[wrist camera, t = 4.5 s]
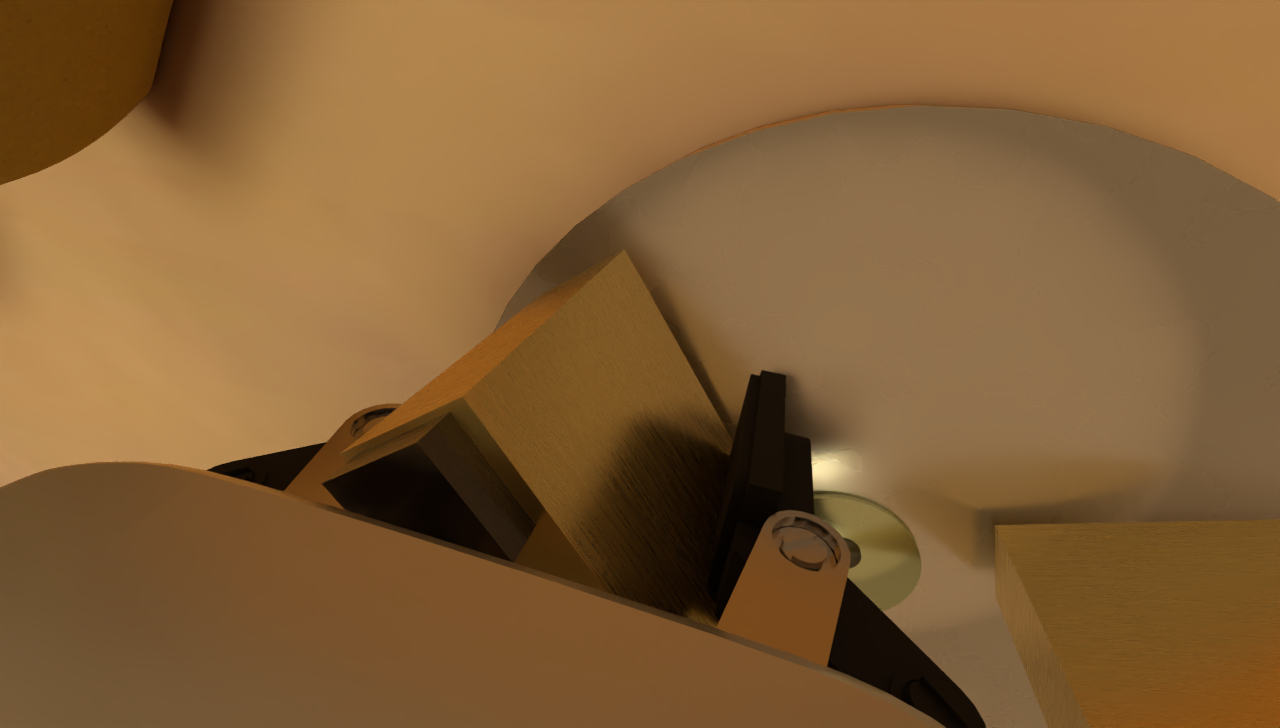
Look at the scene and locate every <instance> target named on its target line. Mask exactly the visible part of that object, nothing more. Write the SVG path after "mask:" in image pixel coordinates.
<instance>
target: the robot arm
mask: <svg viewBox="0 0 1280 728" xmlns="http://www.w3.org/2000/svg"><path fill="white" fill-rule="evenodd" d="M785 397H786V375H783V374H778V373H774V372H769V371H765V370H761V373H760V376H759V375H755V374H751V376H750V379H749V383H748V387H747V391H746V394H745V398H744V402H743V406H742V410H741V414H740V418H739V422H738V425H737V429H736V433H735V437H734V441H733V445H732V449H731V453H730V457H729V462H728V468H727V474H726V479H725V485H724V490H723V496H722V502H721V507H720V513H719V519H718V524H717V530H716V536H715V541H714V547H713V552H712V558H711V564H710V569H709V575H708V581H707V585H708V587H709V588H710V590H711V591H712V593H713V594H714V596H715V602H714V603H715V605H716V610H715V617H716V618H717V619H718V621H719V623H718V625H717V627H716V628H715V627H712V626H709V625H706V624H703V623H700V622H697V621H694V620H690V619H687V618H684V617H681V616H678V615H675V614H672V613H669V612H666V611H663V610H659V609H656V608H653V607H650V606H647V605H644V604H641V603H638V602H635V601H632V600H628V599H625V598H622V597H619V596H616V595H613V594H610V593H607V592H604V591H601V590H598V589H594V588H591V587H588V586H585V585H582V584H579V583H576V582H573V581H570V580H566V579H563V578H560V577H557V576H554V575H551V574H548V573H544V572H541V571H538V570H535V569H532V568H529V567H525V566H522V565H519V564H516V563H513V562H510V561H507V560H503V559H500V558H497V557H494V556H491V555H488V554H484V553H481V552H478V551H475V550H472V549H469V548H465V547H462V546H459V545H456V544H453V543H450V542H446V541H443V540H440V539H437V538H434V537H431V536H427V535H424V534H421V533H418V532H415V531H411V530H408V529H405V528H402V527H398V526H395V525H392V524H389V523H385V522H382V521H379V520H376V519H373V518H369V517H366V516H363V515H360V514H356V513H353V512H350V511H347V510H345V509H344V508H343V507H342V506H341V505H340V504H339V503H338V502H337V501H336V499H335V498H334V497H333V496H332V495H331V494H330V493H329V492H328V490H327V489H326V488H325V487H324V486H323V485H322V484H321V483H323V482H324V481H325V480H326V479H328V478H329V477H330V476H331V475H332V474H334V473H335V472H336V471H337V470H338V469H340V468H341V467H342V466H343V465H345V464H346V463H347V462H346V460H345V459H344V458H343V457H342V456H341V455H340V453H341V452H343V451H344V450H345V449H346V448H348V447H349V446H350V445H351V444H353V443H354V442H355V441H356V440H358V439H359V438H360V437H362V436H363V435H364V434H365V433H367V432H368V431H369V430H370V429H372V428H373V427H374V426H375V425H377V424H378V423H379V422H381V421H382V420H383V419H384V418H386V417H387V416H388V415H389V414H391V413H392V412H393V411H395V410H396V409H397V408H398V407H400V406H401V405H402V404H382V405H376V406H372V407H369V408H366V409H363V410H361V411H359V412H357V413H355V414H353V415H352V416H351V417H350V418H349V419H347V420H346V421H345V422H344V423H343V424H342V426H341V427H340V428H339V429H338V430H337V431H336V432H335V434H334V435H333V436H332V437H331V438H330V439H329V440H328V441H327V442H325V443H321V444H316V445H311V446H306V447H301V448H296V449H291V450H286V451H281V452H276V453H272V454H267V455H262V456H257V457H252V458H247V459H242V460H237V461H232V462H229V463H225V464H221V465H218V466H215V467H213V468H211V469H208V470H200V469H195V468H189V467H184V466H178V465H173V464H161V463H149V462H95V463H85V464H76V465H70V466H63V467H57V468H53V469H48V470H45V471H41V472H38V473H35V474H33V475H30V476H27V477H25V478H22V479H19V480H17V481H14V482H12V483H10V484H7V485H5V486H2V487H0V728H986V725H985V722H984V721H983V719H982V717H981V715H980V714H979V712H978V710H977V708H976V707H975V705H974V704H973V703H972V701H971V700H970V699H969V698H968V697H967V696H966V694H965V693H964V692H963V691H962V690H961V689H960V688H959V687H958V686H957V685H956V684H955V683H954V682H953V681H952V680H951V679H950V678H949V677H948V676H947V675H946V674H945V673H944V672H943V671H942V670H941V669H940V668H939V667H938V666H937V665H936V664H935V663H934V662H933V661H932V660H931V659H930V658H929V657H928V656H927V655H926V654H925V653H924V652H923V651H922V650H921V649H920V648H919V647H918V646H917V645H916V644H915V643H914V642H913V641H912V640H911V639H910V638H909V637H908V636H907V635H906V634H905V633H904V632H903V631H902V630H901V629H900V628H899V627H898V626H897V625H896V624H895V623H894V622H893V621H892V620H891V619H890V618H889V617H888V616H887V615H885V614H884V613H883V612H882V611H881V610H880V609H879V608H878V607H877V606H876V605H875V604H874V603H873V602H872V601H871V600H870V599H869V598H868V597H867V596H866V595H865V594H864V593H863V592H862V591H861V590H860V589H859V588H858V587H857V586H856V585H855V584H854V583H853V582H852V581H851V580H850V579H849V578H848V577H847V576H848V572H849V567H850V551H849V548H848V546H847V543H846V541H845V540H844V539H843V537H842V536H841V535H840V533H839V532H838V531H837V530H836V529H835V528H833V527H832V526H831V525H830V524H829V523H827V522H826V521H824V520H822V519H820V518H819V517H817V516H815V514H814V495H813V475H812V456H811V441H810V439H809V438H806V437H802V436H798V435H794V434H790V433H786V432H785Z"/></svg>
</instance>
